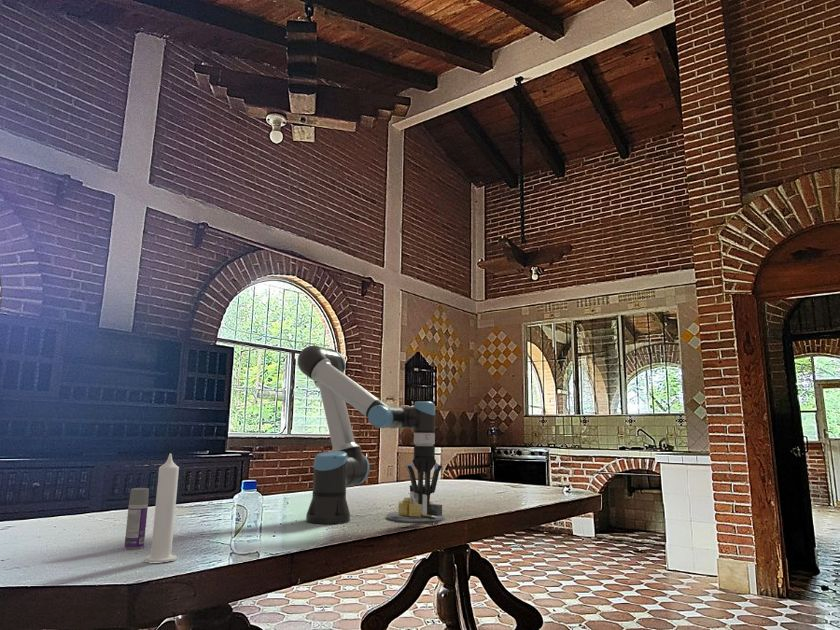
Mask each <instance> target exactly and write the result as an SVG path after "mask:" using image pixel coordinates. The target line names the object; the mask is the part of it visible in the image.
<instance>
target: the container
mask: <svg viewBox="0 0 840 630" xmlns="http://www.w3.org/2000/svg"><path fill="white" fill-rule="evenodd" d="M149 495H150V488H148V487H136V488H135V487H134V488H131V489H130V493H129V501H128V508H127V516H126V517H127V518H126V528H125V539H124V545H123V546H124V548H126V549H125V550H134V549H133V548H140V549H142V548H141V547H143V548H144V546H145V537H146V527H147V518H148V507H149Z"/></svg>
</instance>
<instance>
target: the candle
mask: <svg viewBox="0 0 840 630" xmlns="http://www.w3.org/2000/svg"><path fill="white" fill-rule="evenodd" d="M179 470H180V466H178V465H177V464H175V462H174V460H173V454H172V453H169V455H168V457H167V460H166V461H165V463H163V464H162V465H161V466H159V468H158V477H157V487H156V496H155V508H154V519H153V529H152V538H151V539H152V540H151V547H150V548H151V550H150V555H148V556H145V558H144V559H143V560H145V561H147V562H166V561H172V560H175V559H176V560H177V558H178V557H177V555H175V554H172V549H173V538H174V528H175V527H174V525H175V514H176V505H177V494H178V483H179V482H178V481H179ZM176 560H175V561H176ZM145 561H144V562H145Z"/></svg>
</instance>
